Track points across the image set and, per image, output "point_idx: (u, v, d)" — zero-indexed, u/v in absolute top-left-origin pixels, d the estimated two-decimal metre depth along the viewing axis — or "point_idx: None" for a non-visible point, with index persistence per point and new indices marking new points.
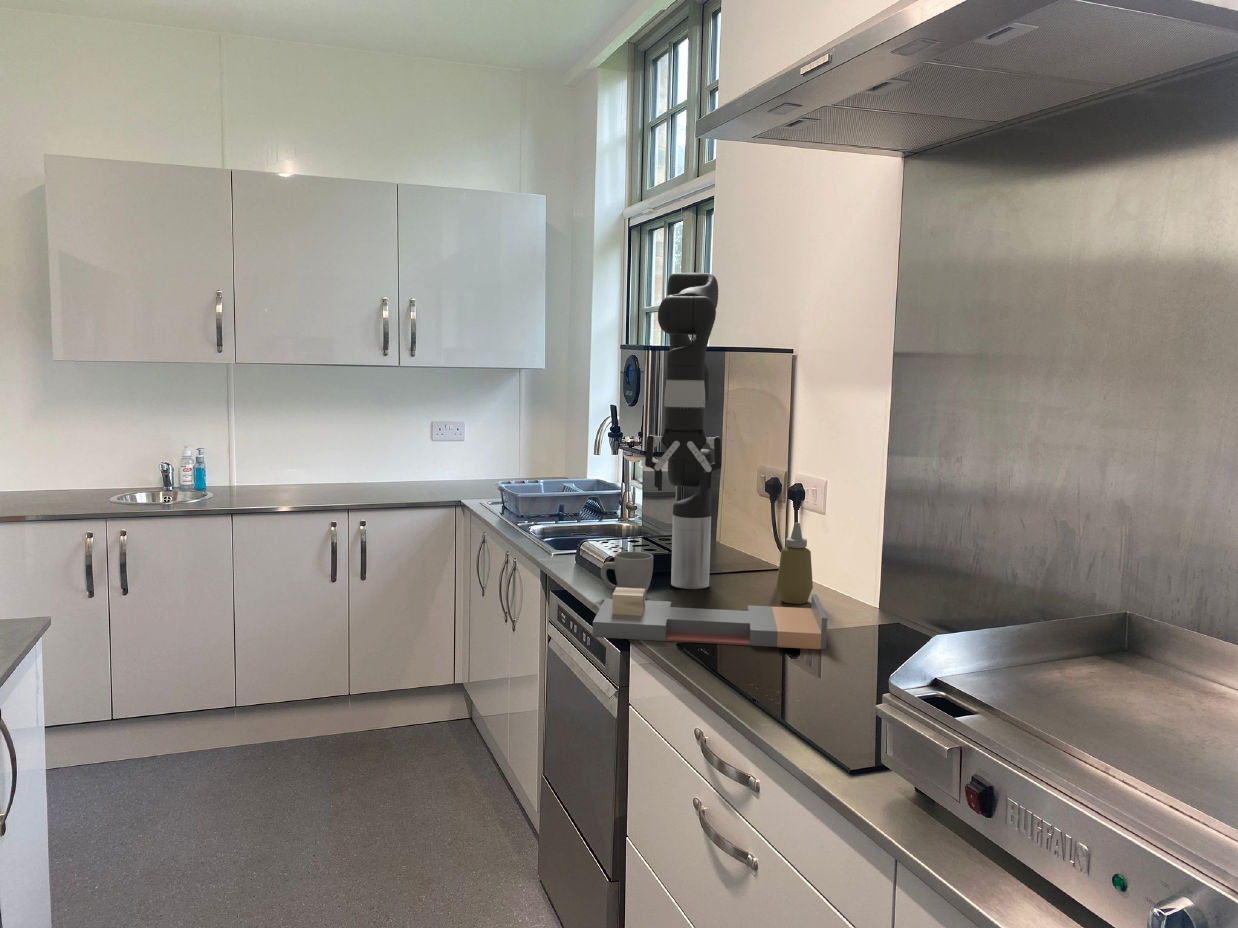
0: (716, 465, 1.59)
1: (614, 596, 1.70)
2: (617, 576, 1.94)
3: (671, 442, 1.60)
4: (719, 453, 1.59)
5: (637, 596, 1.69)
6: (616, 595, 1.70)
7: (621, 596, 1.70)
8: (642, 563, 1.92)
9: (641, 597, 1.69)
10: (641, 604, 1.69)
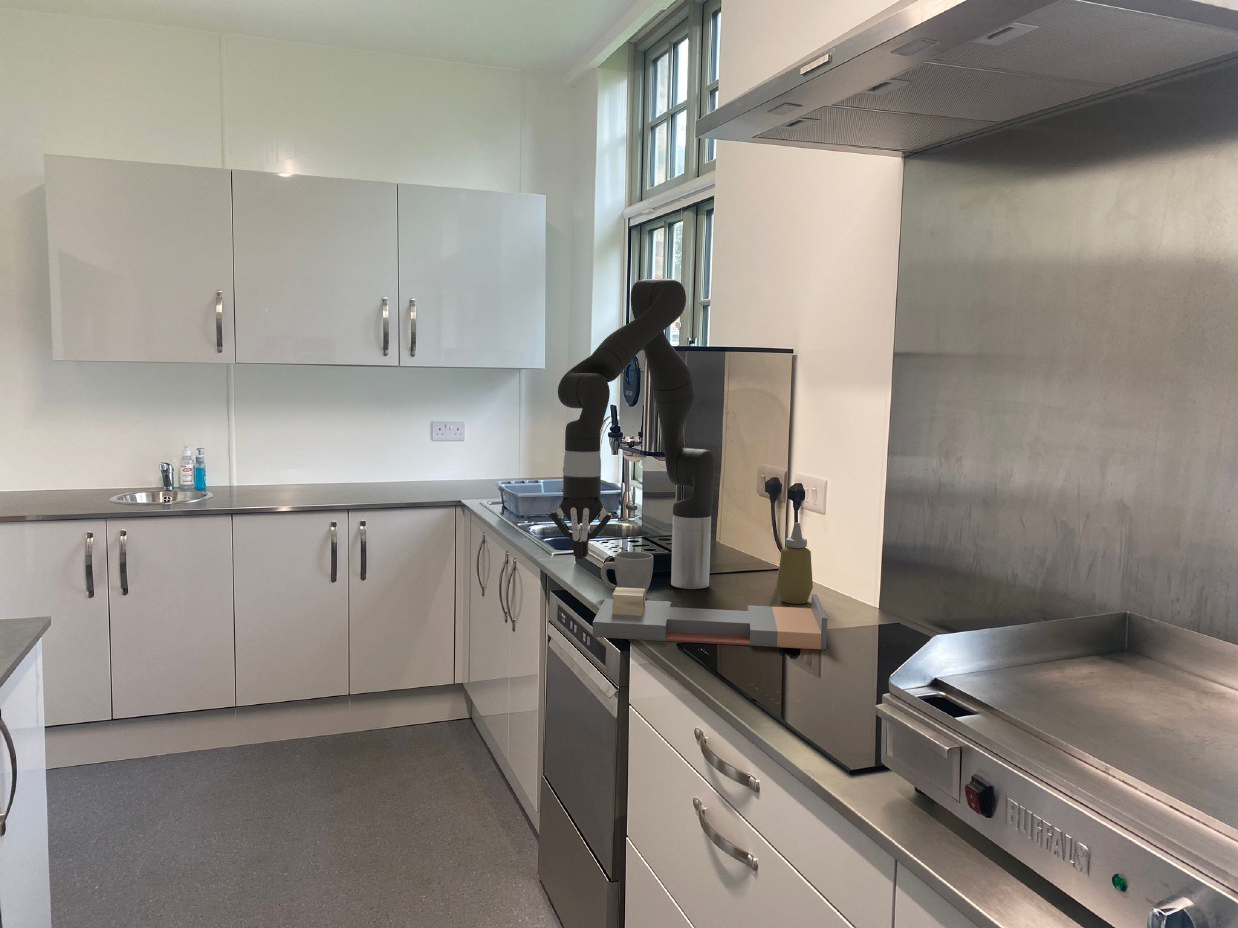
0: (592, 534, 1.71)
1: (614, 596, 1.70)
2: (617, 576, 1.94)
3: (569, 512, 1.71)
4: (601, 528, 1.71)
5: (637, 596, 1.69)
6: (616, 595, 1.70)
7: (621, 596, 1.70)
8: (642, 563, 1.92)
9: (641, 597, 1.69)
10: (641, 604, 1.69)
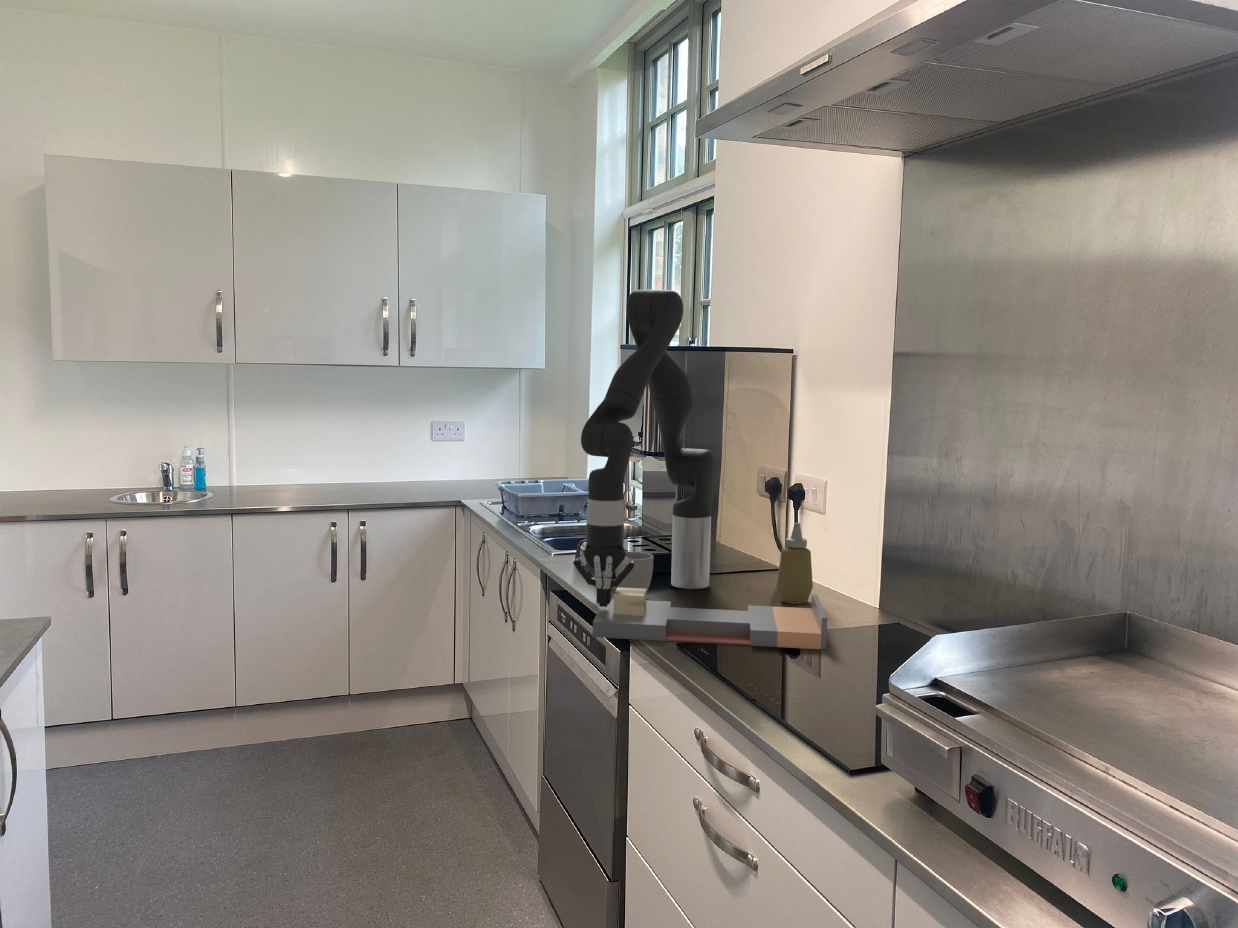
0: (615, 582, 1.71)
1: (616, 596, 1.70)
2: None
3: (593, 559, 1.72)
4: (624, 575, 1.71)
5: (638, 596, 1.69)
6: (617, 595, 1.70)
7: (622, 596, 1.70)
8: (642, 563, 1.92)
9: (642, 597, 1.69)
10: (642, 604, 1.69)
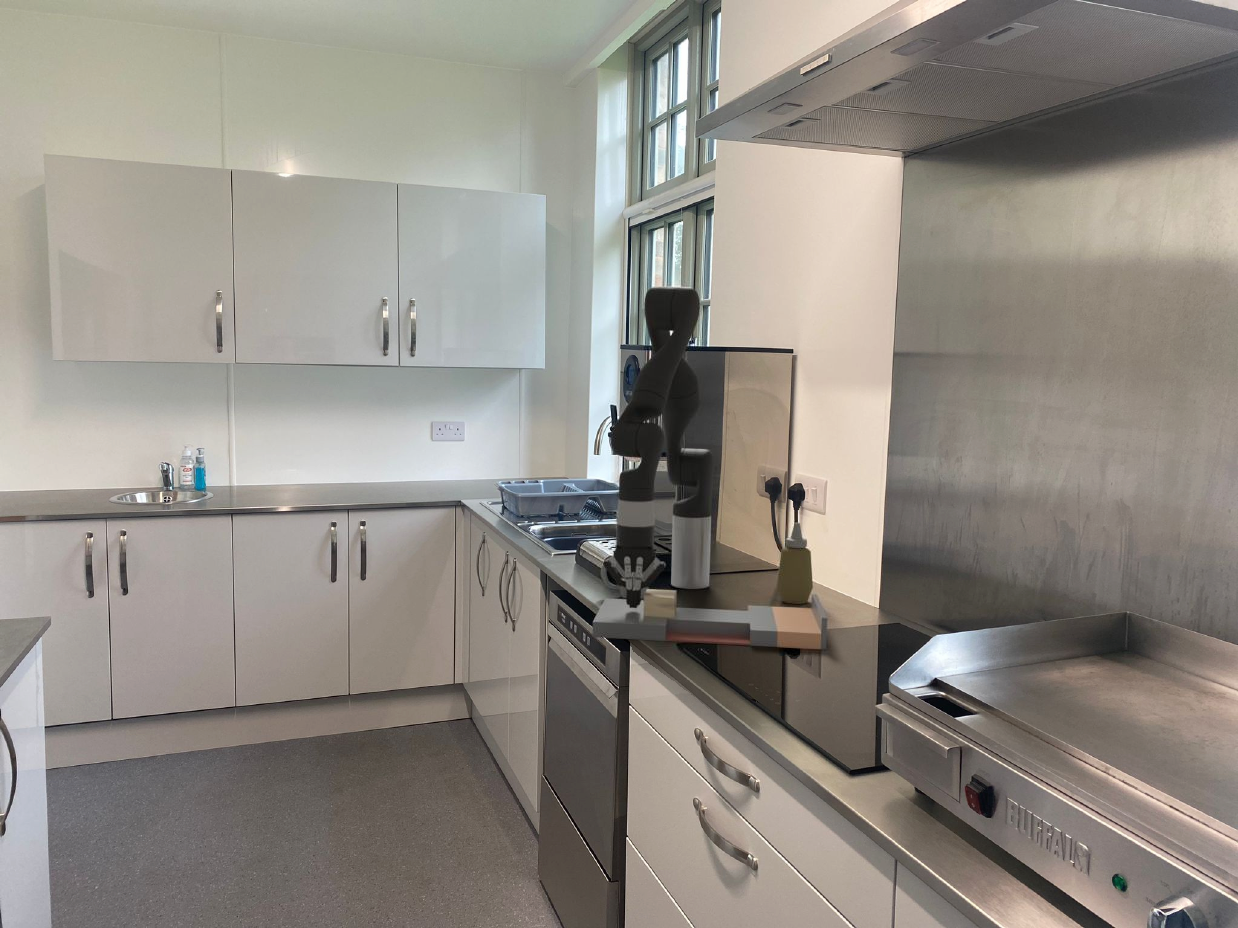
0: (645, 583, 1.71)
1: (646, 598, 1.69)
2: None
3: (623, 560, 1.71)
4: (654, 577, 1.70)
5: (668, 598, 1.68)
6: (647, 597, 1.69)
7: (652, 598, 1.69)
8: None
9: (673, 599, 1.68)
10: (672, 606, 1.68)
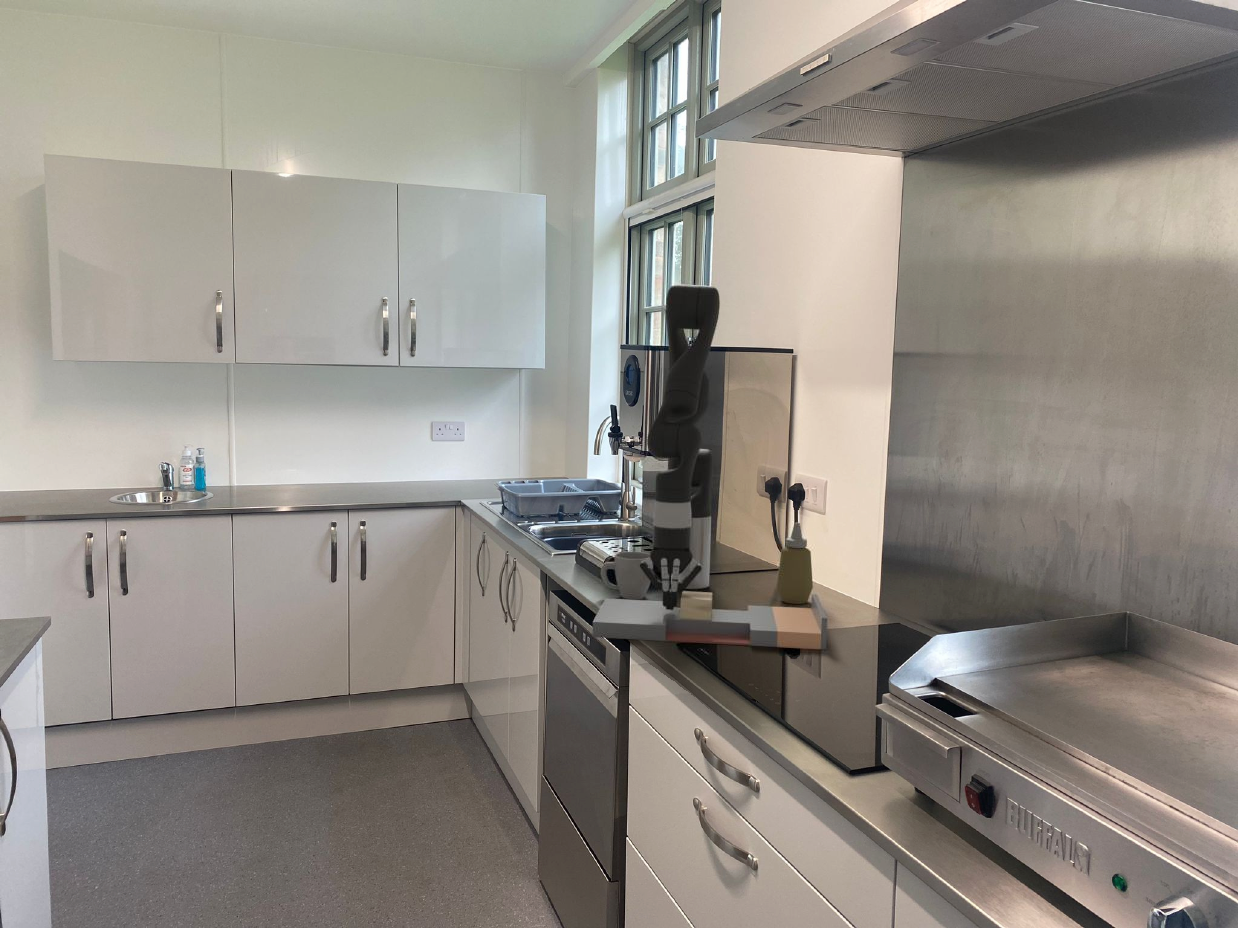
0: (682, 585, 1.70)
1: (683, 600, 1.68)
2: (617, 576, 1.94)
3: (659, 562, 1.70)
4: (691, 578, 1.69)
5: (706, 600, 1.67)
6: (684, 599, 1.68)
7: (689, 600, 1.67)
8: None
9: (710, 601, 1.67)
10: (710, 608, 1.67)
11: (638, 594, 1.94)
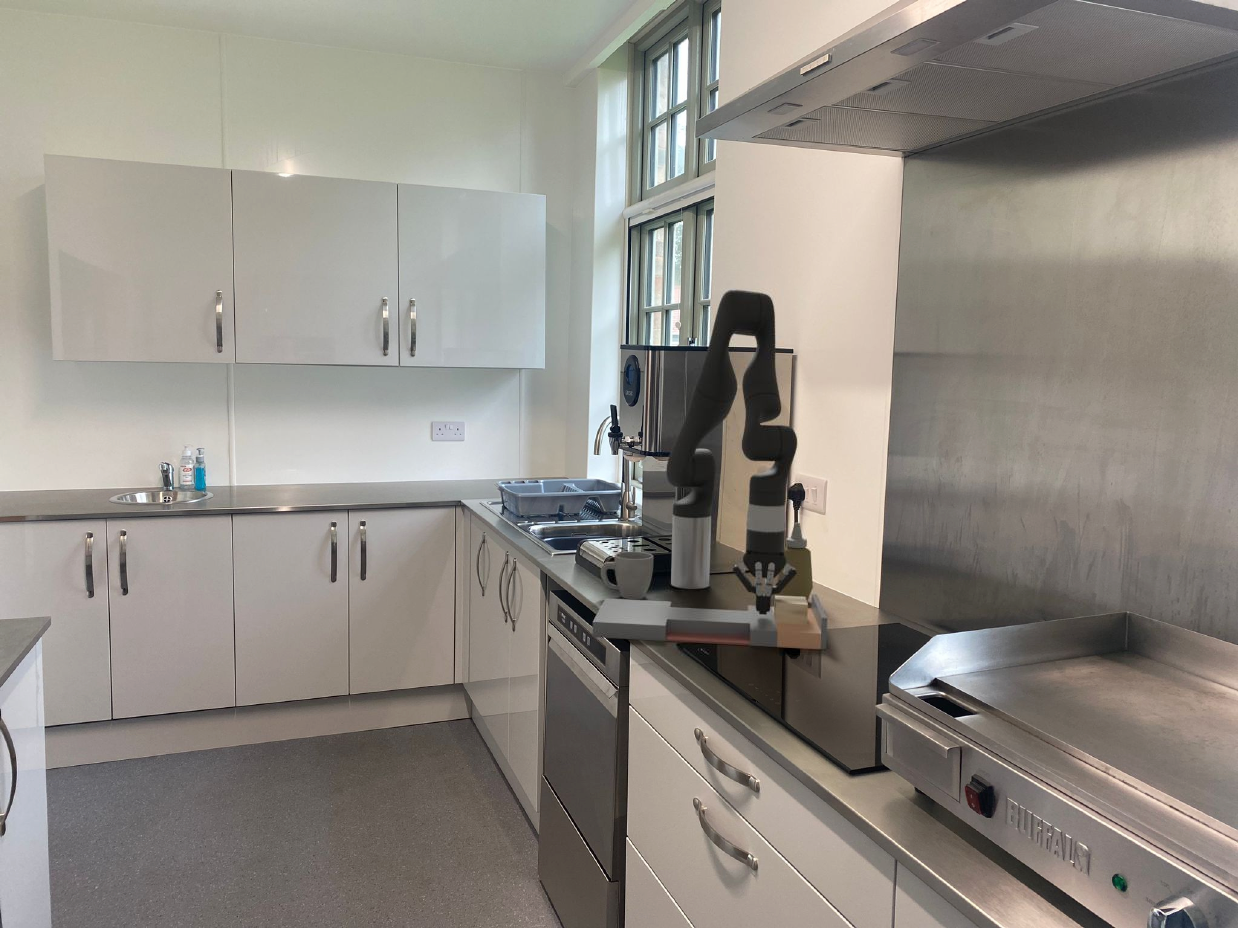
0: (776, 589, 1.67)
1: (778, 604, 1.65)
2: (617, 576, 1.94)
3: (753, 566, 1.68)
4: (786, 582, 1.67)
5: (802, 605, 1.65)
6: (780, 604, 1.65)
7: (785, 605, 1.65)
8: (642, 563, 1.92)
9: (806, 606, 1.65)
10: (806, 613, 1.65)
11: (638, 594, 1.94)
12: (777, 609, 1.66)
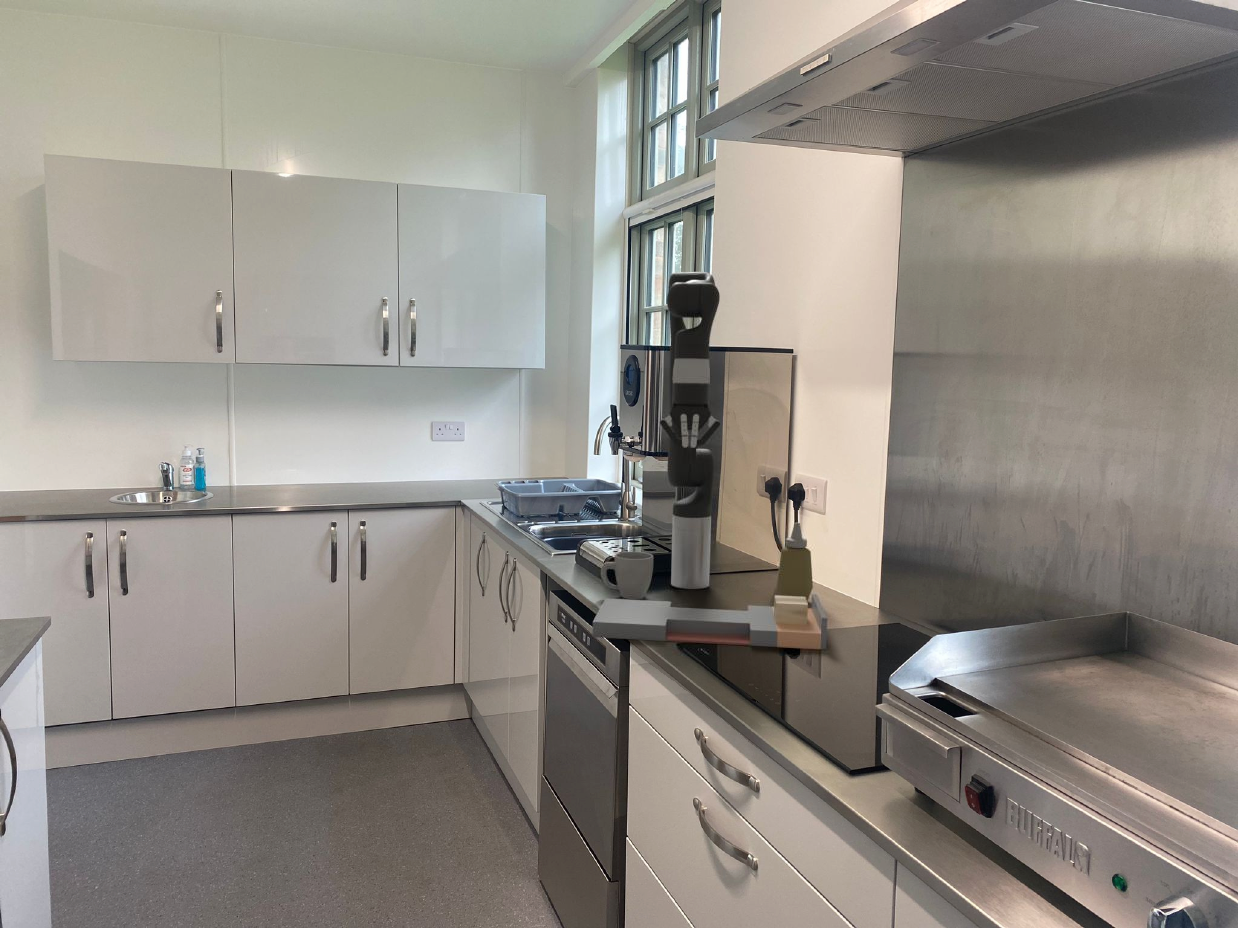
0: (701, 440, 1.76)
1: (778, 604, 1.65)
2: (617, 576, 1.94)
3: (679, 419, 1.76)
4: (710, 434, 1.75)
5: (802, 605, 1.65)
6: (780, 604, 1.65)
7: (785, 605, 1.65)
8: (642, 563, 1.92)
9: (806, 606, 1.65)
10: (806, 613, 1.65)
11: (638, 594, 1.94)
12: (777, 609, 1.66)
